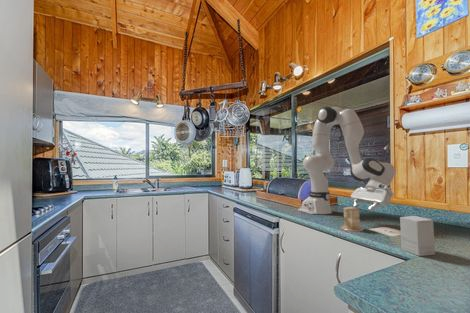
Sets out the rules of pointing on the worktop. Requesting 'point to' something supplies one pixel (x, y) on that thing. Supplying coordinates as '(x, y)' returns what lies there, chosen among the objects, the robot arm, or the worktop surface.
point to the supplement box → (417, 235)
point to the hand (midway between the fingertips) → (362, 208)
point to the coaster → (352, 230)
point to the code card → (387, 231)
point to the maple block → (351, 218)
